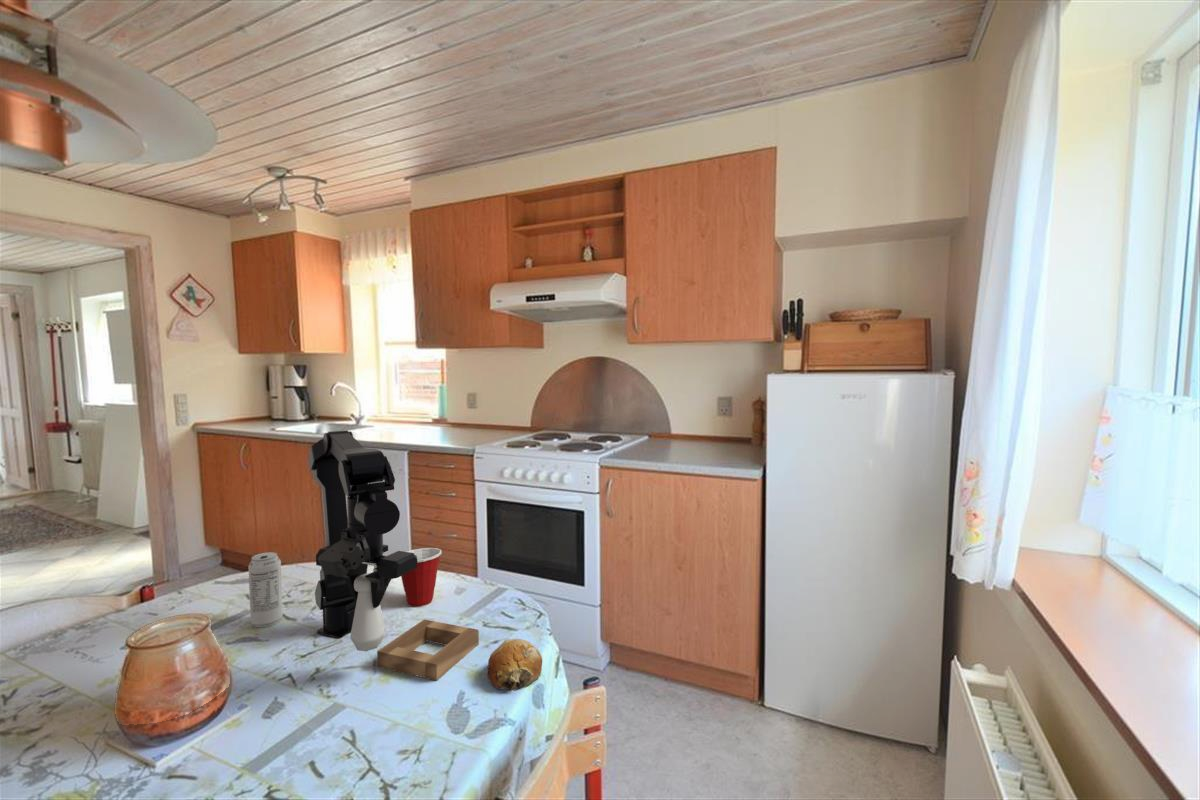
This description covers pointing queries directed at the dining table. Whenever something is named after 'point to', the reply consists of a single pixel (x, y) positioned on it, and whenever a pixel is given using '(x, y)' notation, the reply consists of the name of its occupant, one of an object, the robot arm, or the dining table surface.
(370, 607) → the salt shaker
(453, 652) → the frame
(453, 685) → the dining table surface
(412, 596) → the plastic cup
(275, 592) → the energy drink can
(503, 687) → the bread roll
